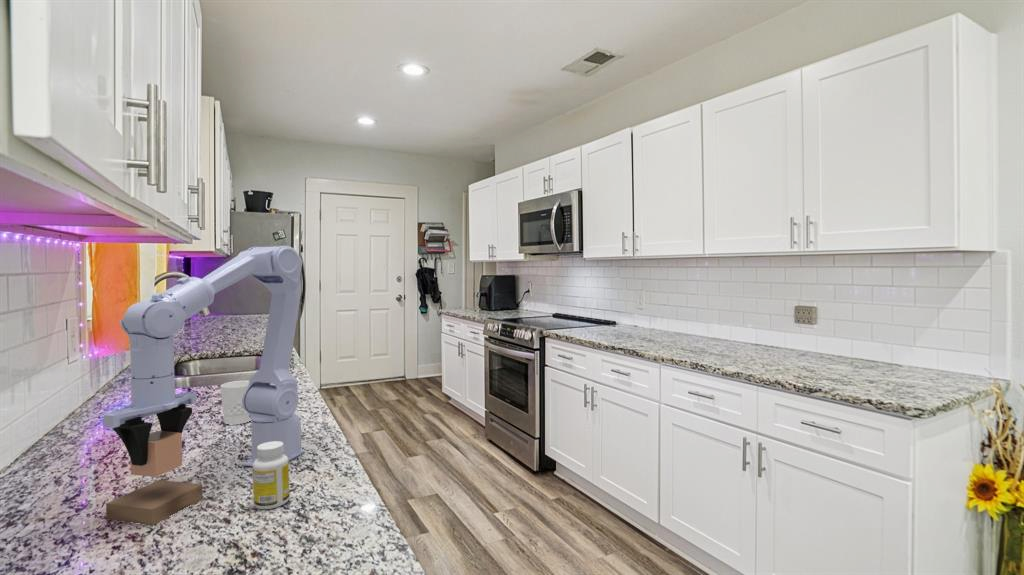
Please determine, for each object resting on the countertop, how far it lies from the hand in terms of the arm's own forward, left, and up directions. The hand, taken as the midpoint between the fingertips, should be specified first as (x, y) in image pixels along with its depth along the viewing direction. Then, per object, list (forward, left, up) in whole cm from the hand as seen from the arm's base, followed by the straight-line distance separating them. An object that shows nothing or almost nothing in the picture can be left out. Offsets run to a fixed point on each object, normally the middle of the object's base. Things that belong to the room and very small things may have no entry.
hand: (155, 458), depth 80 cm
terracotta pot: (0, 0, -2) cm, 2 cm away
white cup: (-43, -23, -9) cm, 50 cm away
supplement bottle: (-6, +17, -9) cm, 20 cm away
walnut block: (0, 0, -9) cm, 9 cm away
